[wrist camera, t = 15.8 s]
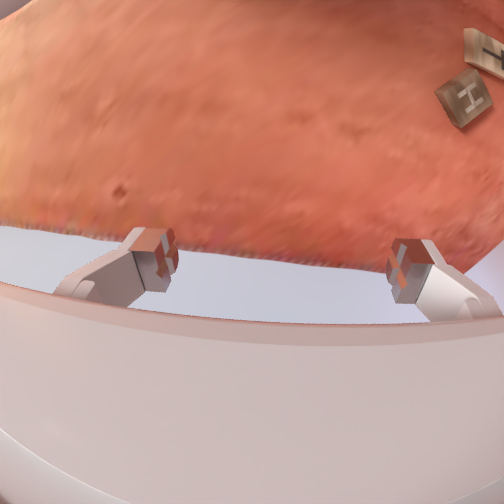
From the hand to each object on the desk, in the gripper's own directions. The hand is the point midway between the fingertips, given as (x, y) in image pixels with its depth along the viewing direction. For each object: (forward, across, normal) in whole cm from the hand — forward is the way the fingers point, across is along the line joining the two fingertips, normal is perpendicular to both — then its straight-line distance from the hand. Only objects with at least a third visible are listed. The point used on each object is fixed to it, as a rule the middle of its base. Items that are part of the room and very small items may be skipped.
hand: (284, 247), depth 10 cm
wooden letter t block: (+30, -28, -17) cm, 44 cm away
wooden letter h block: (+30, -24, -5) cm, 39 cm away
